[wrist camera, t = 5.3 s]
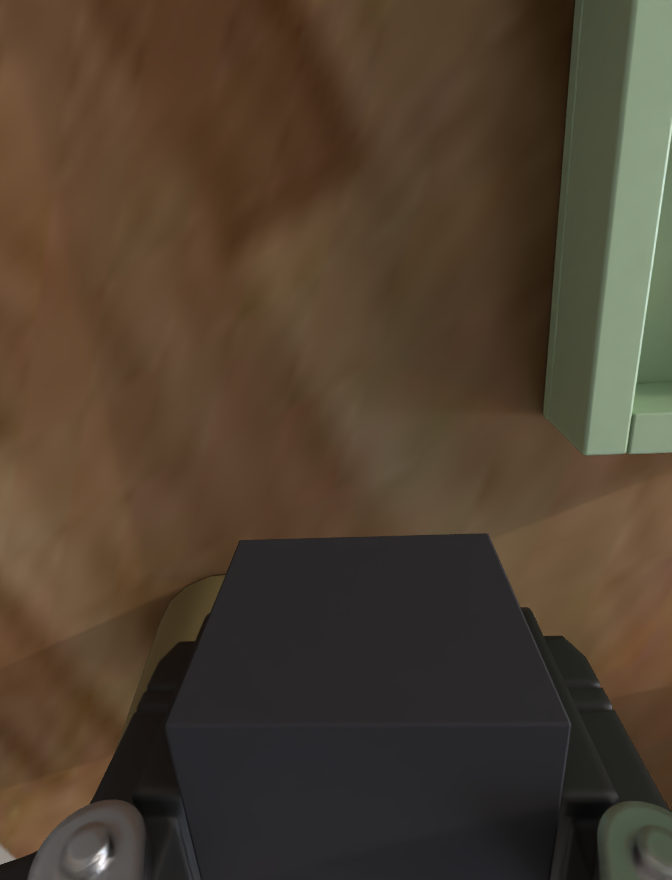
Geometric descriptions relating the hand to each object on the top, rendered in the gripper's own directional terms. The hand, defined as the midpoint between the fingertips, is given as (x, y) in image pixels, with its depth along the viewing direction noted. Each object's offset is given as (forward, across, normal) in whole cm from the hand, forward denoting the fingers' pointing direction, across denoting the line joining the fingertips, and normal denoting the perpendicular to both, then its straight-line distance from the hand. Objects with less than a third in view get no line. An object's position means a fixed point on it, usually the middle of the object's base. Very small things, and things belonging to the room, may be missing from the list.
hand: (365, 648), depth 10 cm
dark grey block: (0, 0, 0) cm, 0 cm away
